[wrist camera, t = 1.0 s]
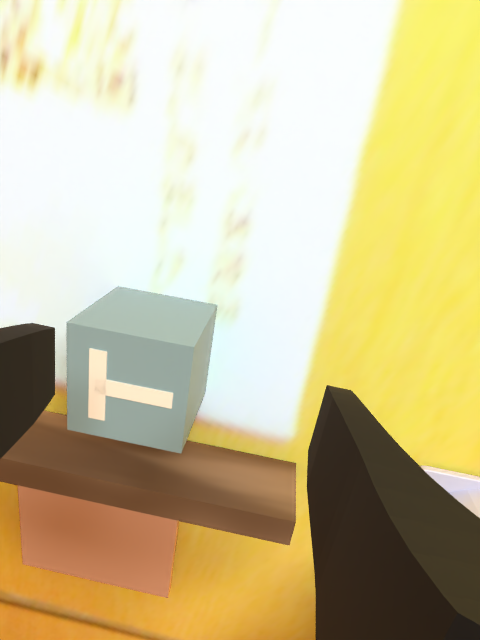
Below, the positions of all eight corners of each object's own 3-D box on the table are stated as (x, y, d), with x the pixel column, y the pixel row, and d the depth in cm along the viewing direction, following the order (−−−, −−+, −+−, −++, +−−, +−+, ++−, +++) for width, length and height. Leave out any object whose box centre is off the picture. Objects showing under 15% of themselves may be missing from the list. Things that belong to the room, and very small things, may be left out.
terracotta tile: (170, 589, 28) (167, 598, 27) (28, 556, 28) (22, 564, 28) (185, 472, 24) (182, 479, 23) (21, 437, 25) (15, 443, 24)
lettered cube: (205, 391, 22) (180, 454, 17) (114, 373, 22) (66, 430, 18) (217, 304, 20) (193, 347, 15) (118, 285, 20) (65, 323, 16)
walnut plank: (290, 484, 23) (289, 545, 20) (-12, 420, 24) (-67, 466, 21) (295, 463, 23) (295, 521, 19) (-14, 398, 24) (-71, 442, 20)
